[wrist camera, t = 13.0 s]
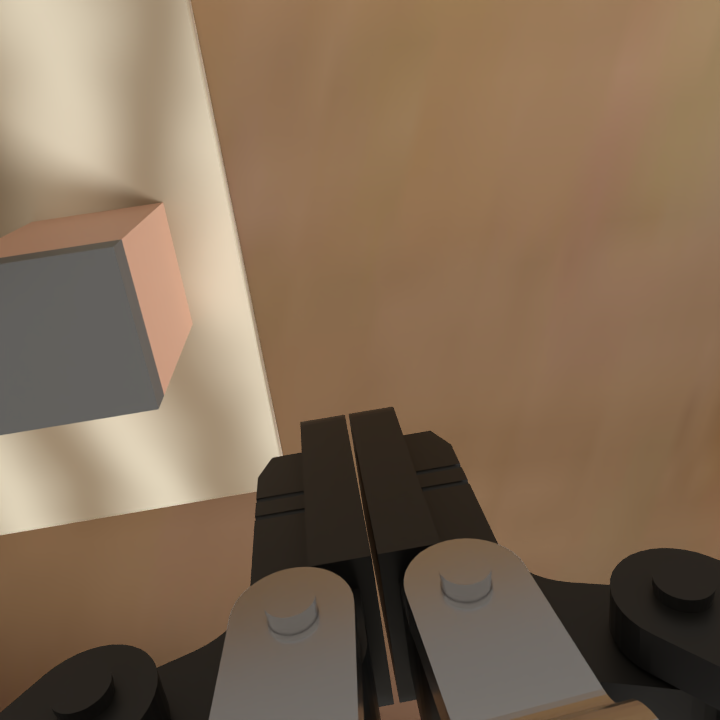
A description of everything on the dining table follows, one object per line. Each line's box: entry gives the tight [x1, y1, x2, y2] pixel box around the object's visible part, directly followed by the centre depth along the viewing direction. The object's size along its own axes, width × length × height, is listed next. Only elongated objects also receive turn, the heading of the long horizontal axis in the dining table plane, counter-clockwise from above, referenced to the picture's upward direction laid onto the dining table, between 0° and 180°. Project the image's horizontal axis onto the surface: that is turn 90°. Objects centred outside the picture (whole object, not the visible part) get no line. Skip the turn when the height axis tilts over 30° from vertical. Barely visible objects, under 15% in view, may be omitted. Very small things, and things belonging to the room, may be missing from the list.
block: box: [0, 202, 193, 435], centre depth 23 cm, size 5×5×8 cm
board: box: [0, 0, 283, 535], centre depth 27 cm, size 18×22×2 cm
